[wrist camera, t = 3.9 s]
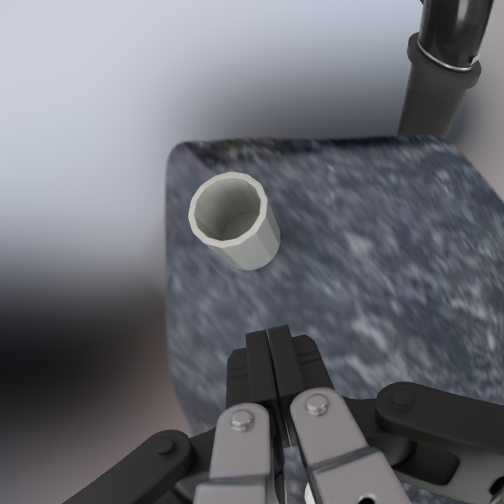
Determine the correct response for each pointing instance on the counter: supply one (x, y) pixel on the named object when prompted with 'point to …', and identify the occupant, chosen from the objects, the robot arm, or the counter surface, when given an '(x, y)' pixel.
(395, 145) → the counter surface
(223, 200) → the pot
